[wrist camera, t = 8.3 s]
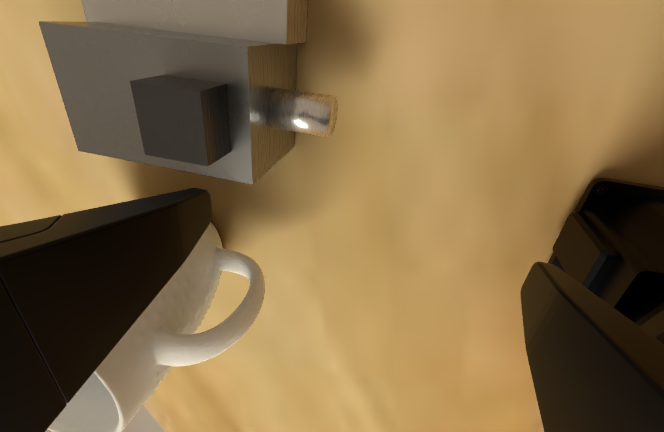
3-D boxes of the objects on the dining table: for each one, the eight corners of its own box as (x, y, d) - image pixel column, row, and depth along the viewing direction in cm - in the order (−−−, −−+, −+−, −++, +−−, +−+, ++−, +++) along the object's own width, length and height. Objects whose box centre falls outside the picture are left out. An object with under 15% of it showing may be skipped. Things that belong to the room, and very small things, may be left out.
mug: (285, 179, 23) (150, 325, 12) (300, 302, 28) (217, 482, 17) (105, 170, 26) (-129, 275, 15) (149, 281, 31) (-1, 418, 20)
